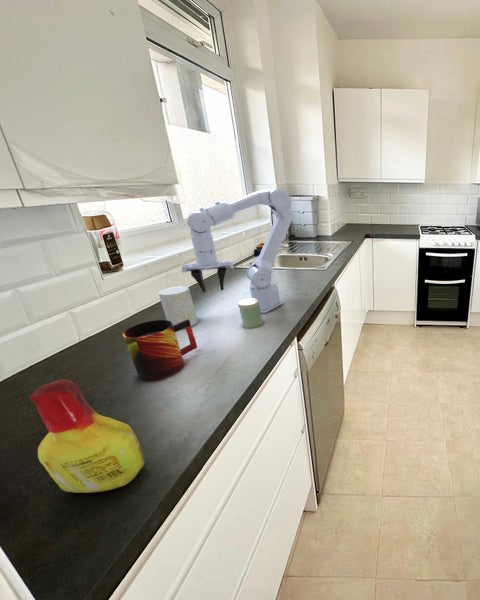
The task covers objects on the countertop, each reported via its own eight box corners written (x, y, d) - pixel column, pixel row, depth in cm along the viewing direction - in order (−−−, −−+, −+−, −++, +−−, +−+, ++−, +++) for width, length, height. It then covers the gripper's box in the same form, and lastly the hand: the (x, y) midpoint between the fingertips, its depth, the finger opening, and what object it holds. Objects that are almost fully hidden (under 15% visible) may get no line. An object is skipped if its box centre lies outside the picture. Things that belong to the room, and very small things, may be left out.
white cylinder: (183, 330, 100) (173, 295, 96) (162, 328, 102) (151, 293, 97) (203, 319, 108) (194, 287, 103) (183, 317, 109) (174, 285, 105)
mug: (199, 350, 89) (188, 312, 85) (171, 380, 76) (157, 337, 72) (163, 352, 88) (150, 313, 84) (129, 382, 76) (112, 339, 71)
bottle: (47, 507, 47) (-20, 402, 40) (79, 470, 53) (26, 373, 46) (135, 494, 49) (88, 391, 42) (157, 460, 55) (118, 364, 48)
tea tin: (252, 318, 109) (248, 296, 106) (267, 321, 107) (263, 299, 104) (238, 326, 103) (233, 303, 100) (253, 329, 101) (248, 306, 98)
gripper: (175, 255, 94) (186, 297, 99) (229, 251, 100) (237, 291, 105) (179, 250, 100) (189, 290, 105) (230, 247, 106) (237, 284, 111)
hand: (213, 290), depth 105 cm, fingers open, 5 cm apart
